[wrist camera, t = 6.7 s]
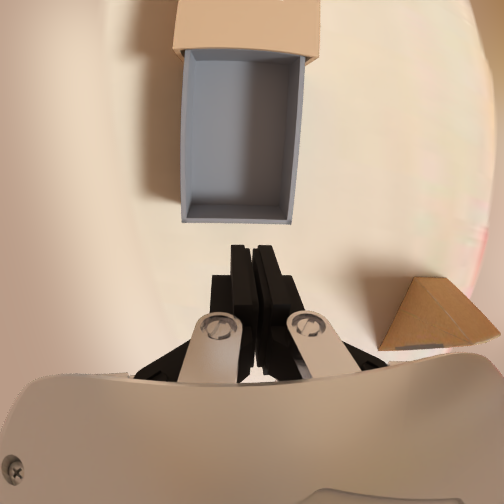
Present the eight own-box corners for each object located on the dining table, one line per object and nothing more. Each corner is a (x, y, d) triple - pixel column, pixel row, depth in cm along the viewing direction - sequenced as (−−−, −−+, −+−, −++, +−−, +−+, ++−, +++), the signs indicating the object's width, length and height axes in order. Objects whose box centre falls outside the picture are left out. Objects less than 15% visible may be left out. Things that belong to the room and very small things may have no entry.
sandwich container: (375, 351, 41) (410, 420, 27) (412, 276, 34) (472, 344, 21) (410, 346, 42) (446, 405, 29) (447, 277, 35) (502, 334, 22)
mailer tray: (192, 58, 20) (185, 46, 16) (292, 63, 21) (305, 52, 17) (188, 207, 26) (181, 222, 22) (281, 209, 27) (291, 224, 23)
